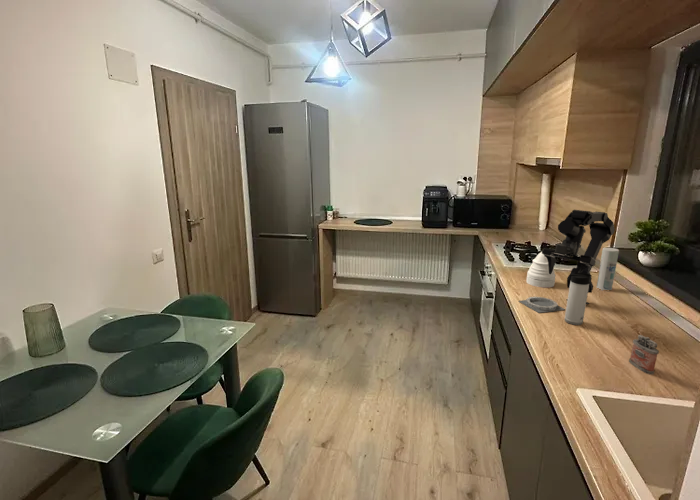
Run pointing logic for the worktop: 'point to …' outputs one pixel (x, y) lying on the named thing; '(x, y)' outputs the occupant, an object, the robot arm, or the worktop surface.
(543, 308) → the metal collar
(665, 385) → the worktop surface
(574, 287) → the travel mug
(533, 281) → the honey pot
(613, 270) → the spray can
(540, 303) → the base mat
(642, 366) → the red and grey container
